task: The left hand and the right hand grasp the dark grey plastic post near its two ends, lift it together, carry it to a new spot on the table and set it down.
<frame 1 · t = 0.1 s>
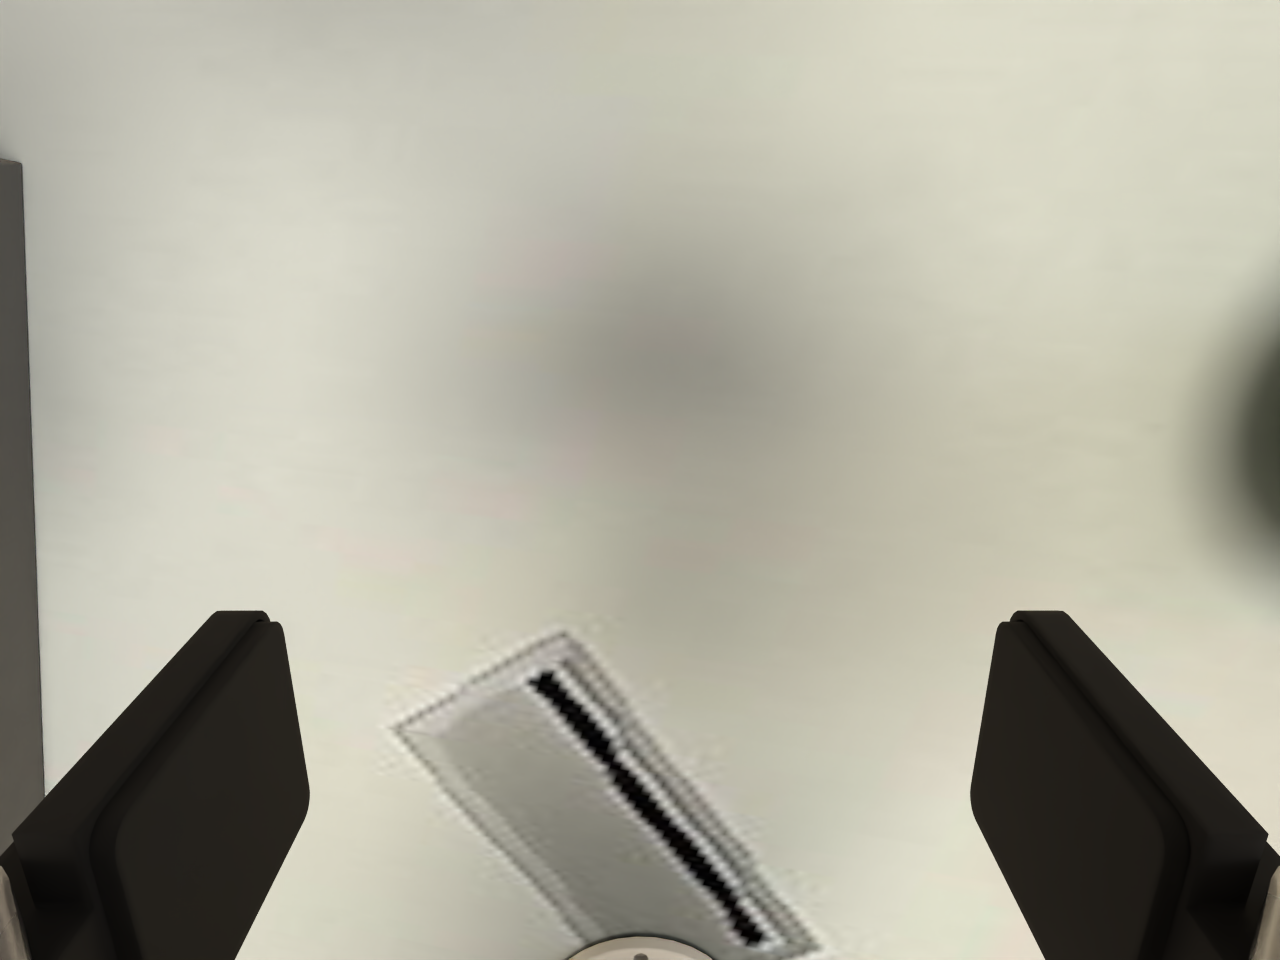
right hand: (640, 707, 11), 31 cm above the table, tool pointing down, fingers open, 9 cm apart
post: (6, 816, 51), on the table
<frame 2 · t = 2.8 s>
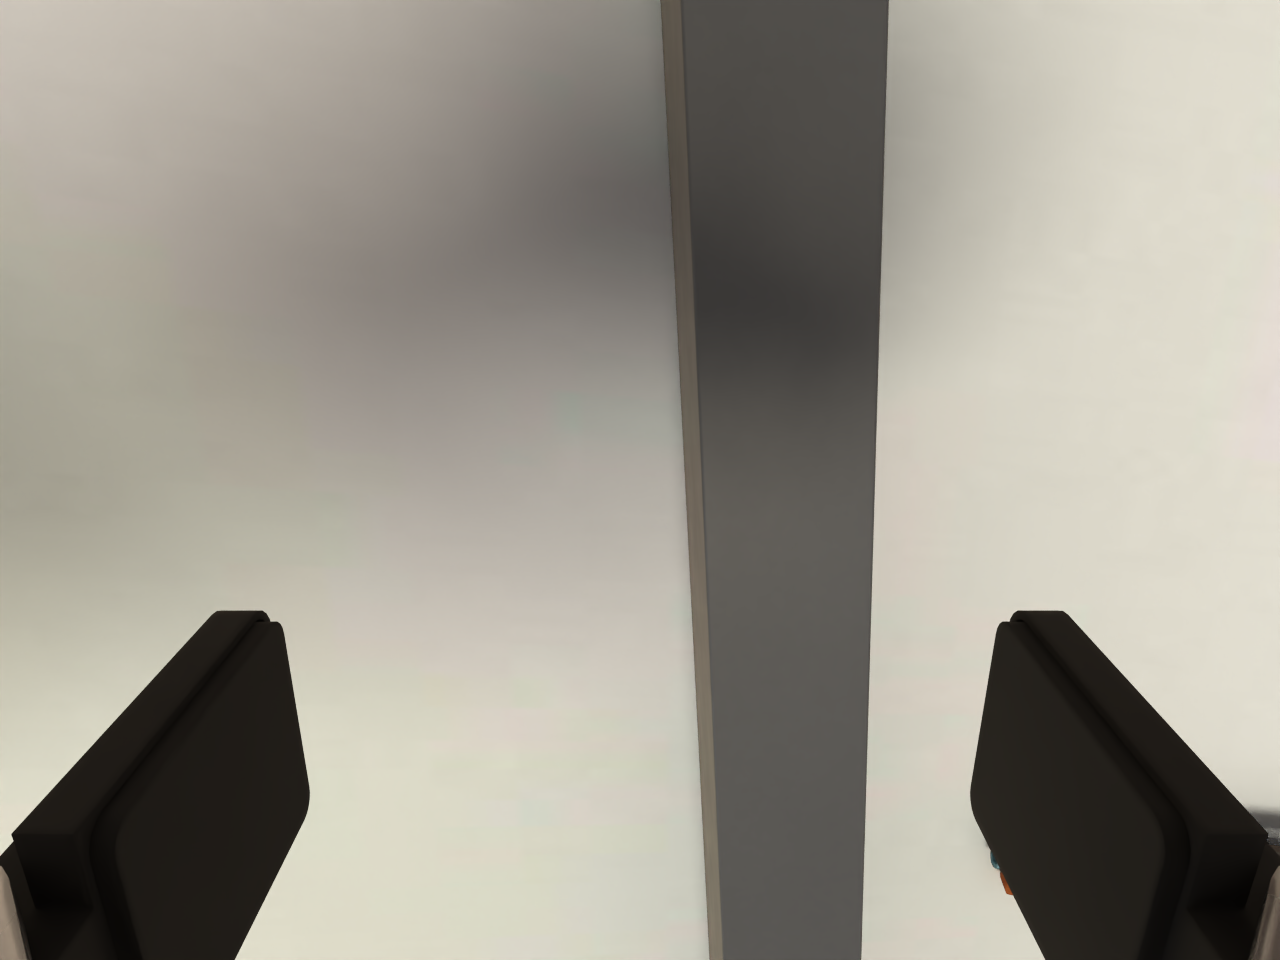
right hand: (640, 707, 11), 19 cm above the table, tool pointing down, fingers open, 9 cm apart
post: (758, 857, 36), on the table
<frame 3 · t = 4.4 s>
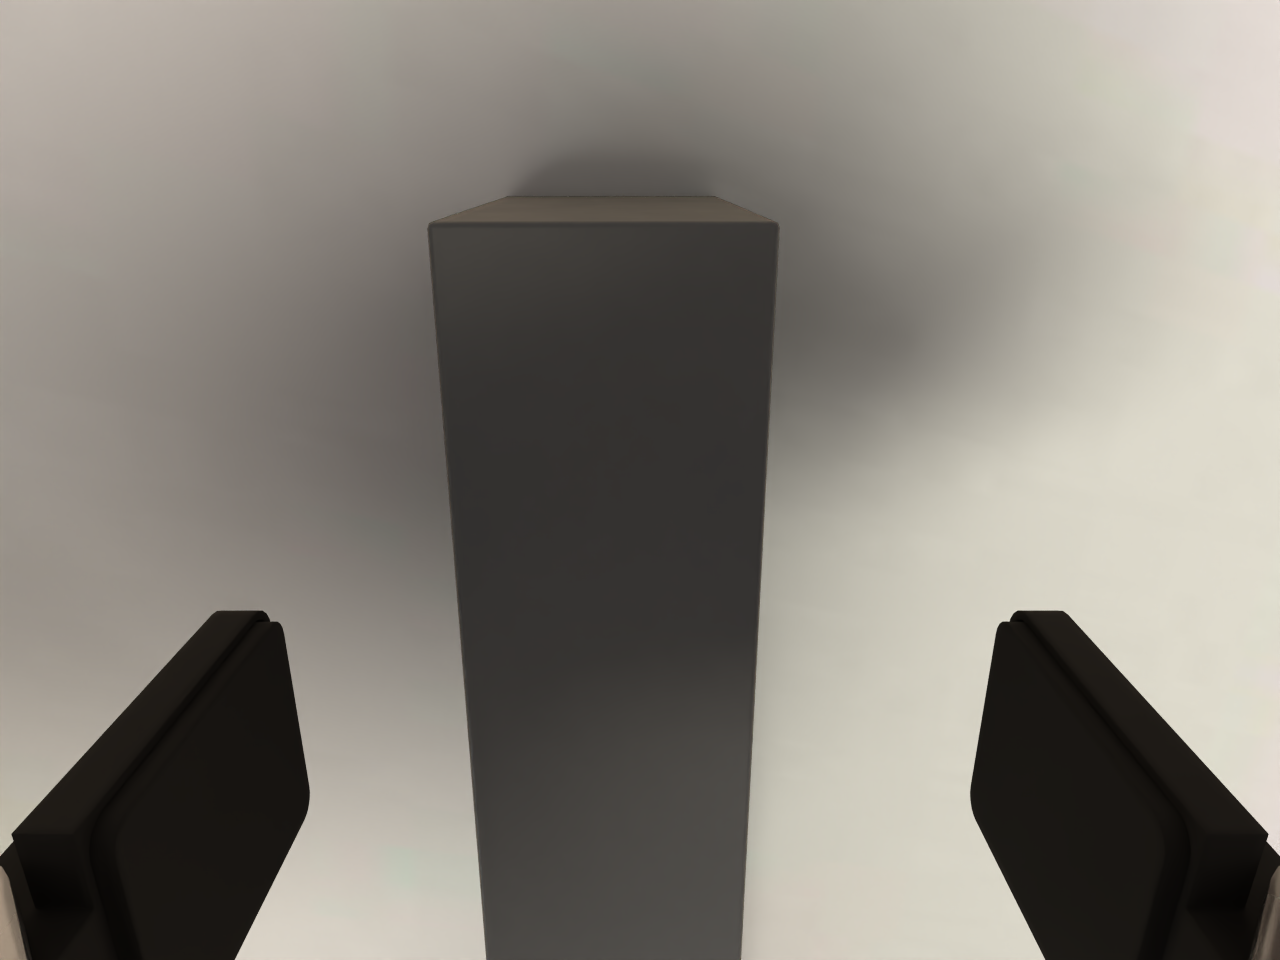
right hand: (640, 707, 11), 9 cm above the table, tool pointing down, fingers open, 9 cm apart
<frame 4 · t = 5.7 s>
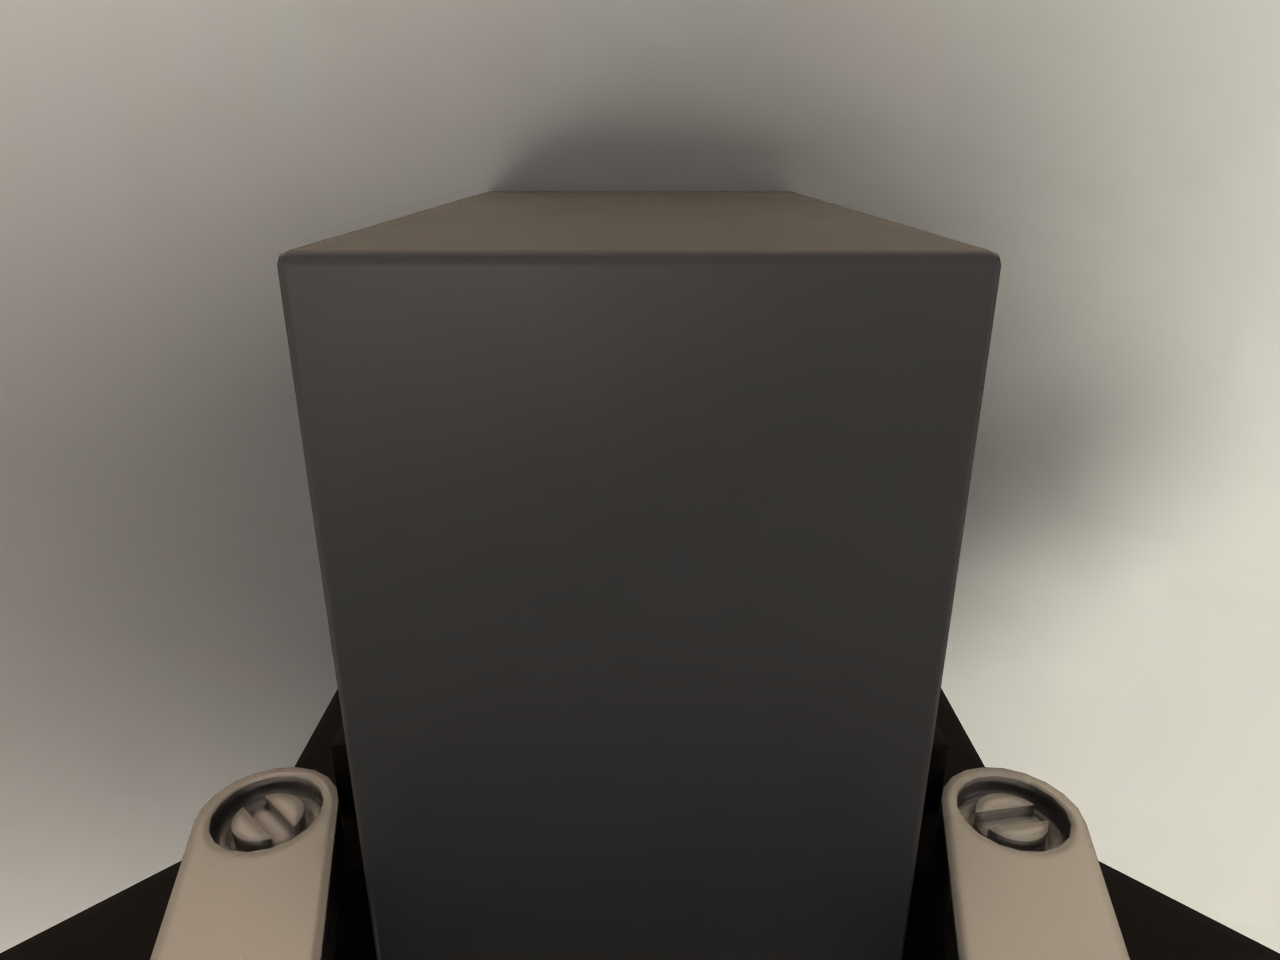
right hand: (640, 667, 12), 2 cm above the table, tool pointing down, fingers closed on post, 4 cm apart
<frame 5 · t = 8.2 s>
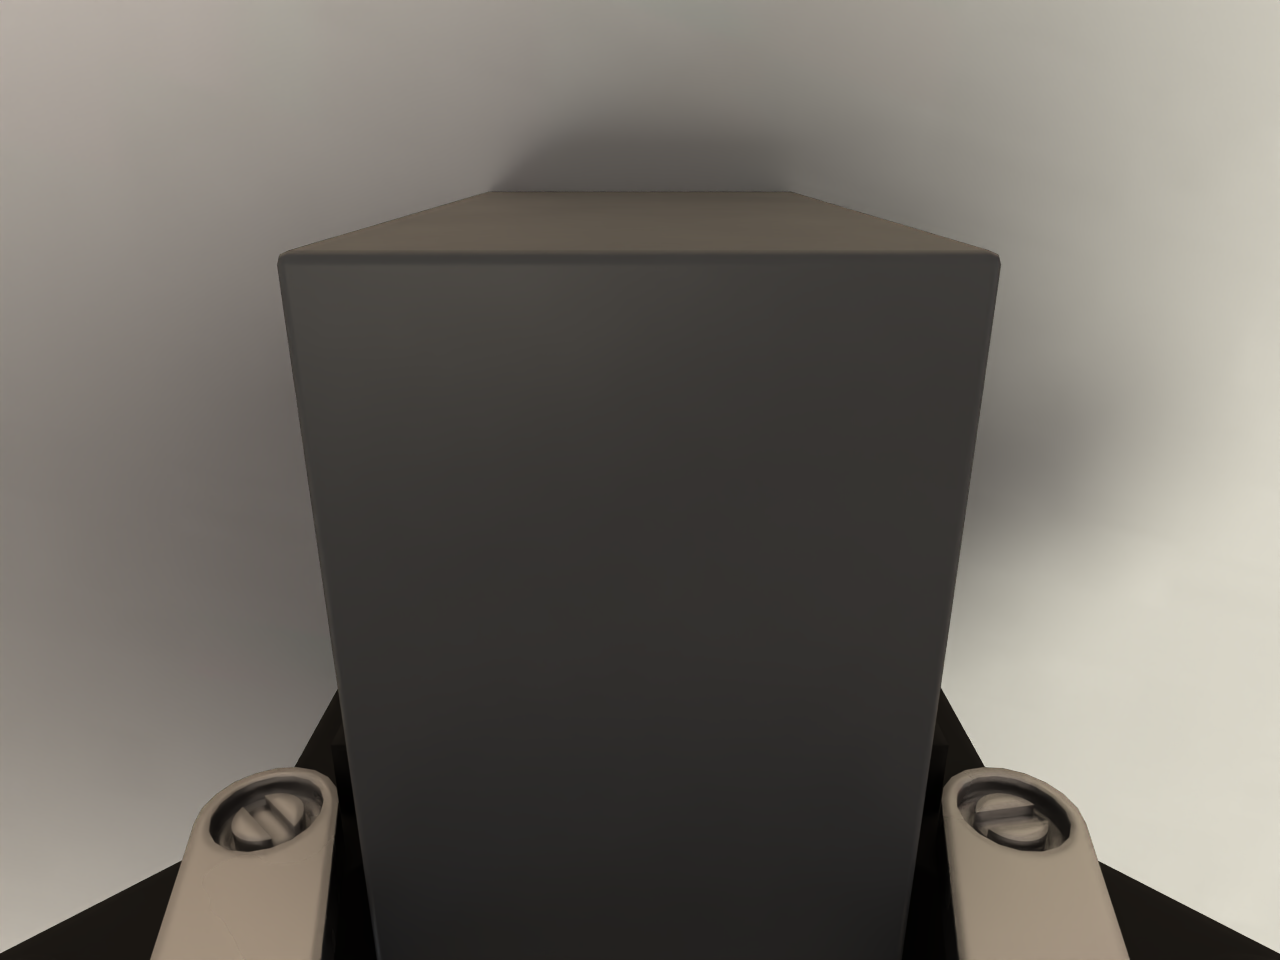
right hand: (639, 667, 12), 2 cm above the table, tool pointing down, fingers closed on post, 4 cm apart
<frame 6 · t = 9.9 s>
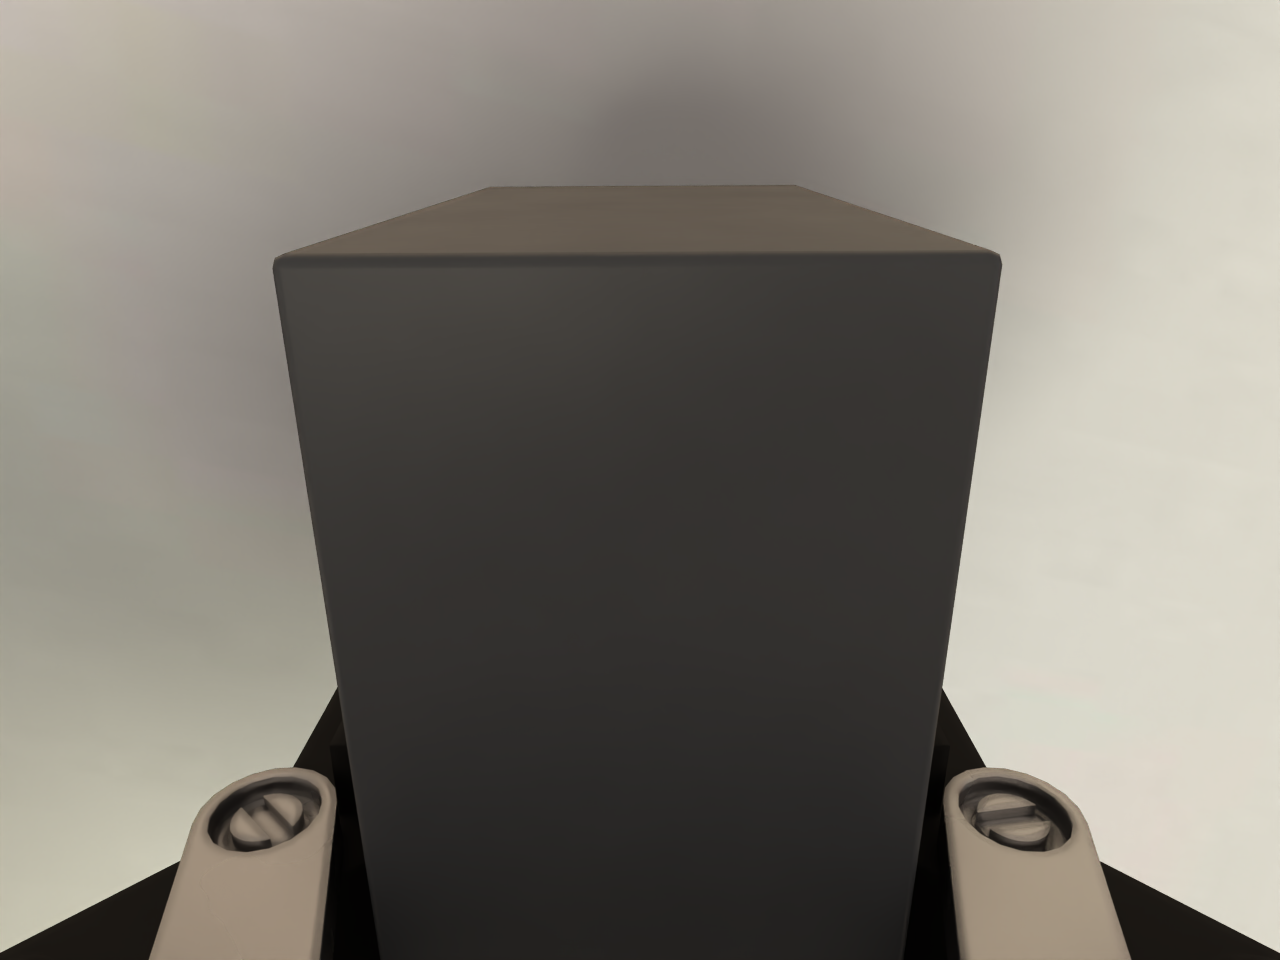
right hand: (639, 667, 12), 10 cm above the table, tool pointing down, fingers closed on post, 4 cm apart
when the left hand's fingers open (3 cm above the table, at t = 11.7 s): post stays where it is, on the table.
when the right hand's fingers open (3 cm above the table, at t = 11.7 s): post stays where it is, on the table.
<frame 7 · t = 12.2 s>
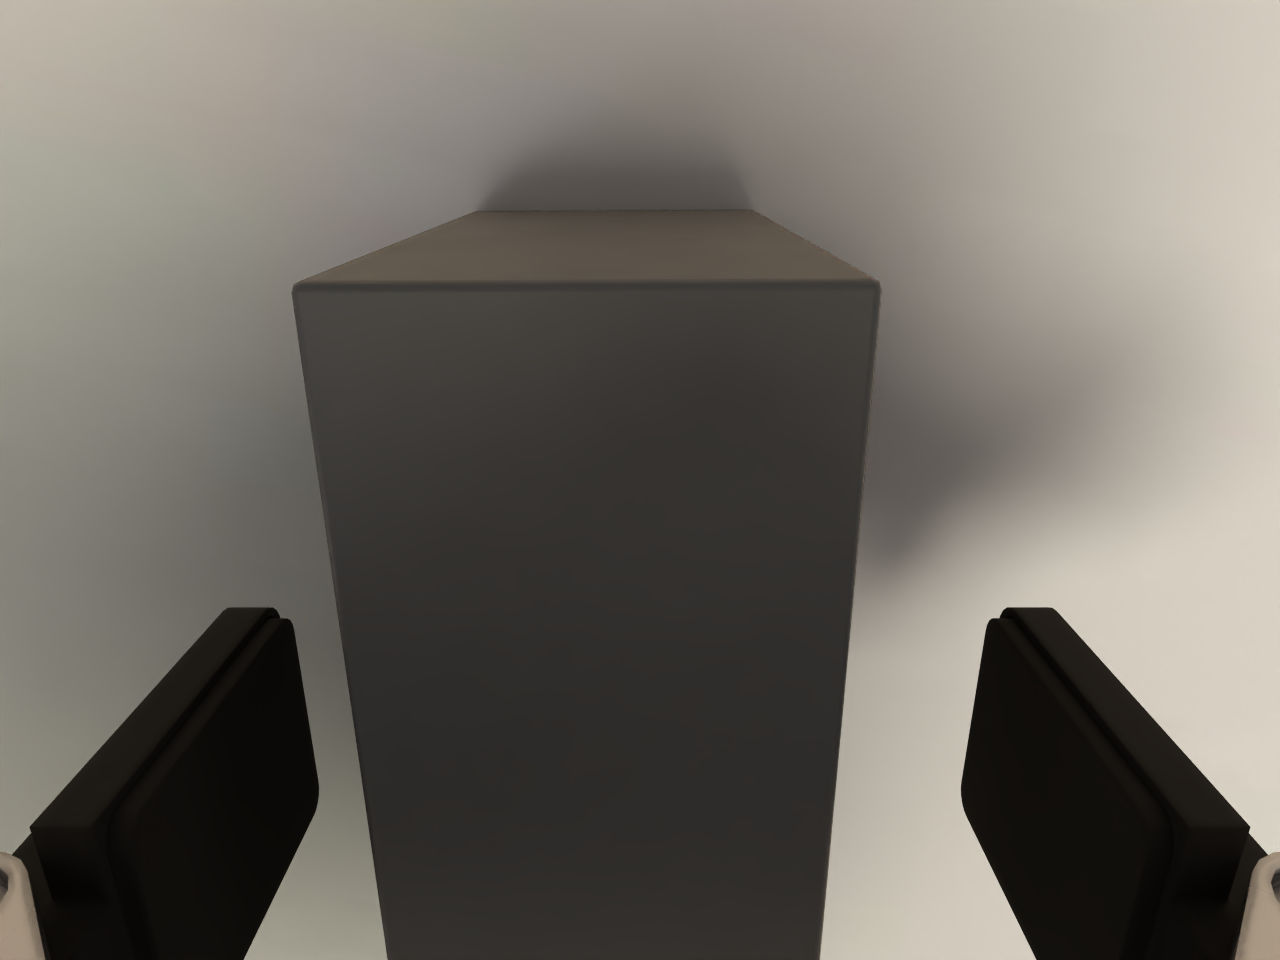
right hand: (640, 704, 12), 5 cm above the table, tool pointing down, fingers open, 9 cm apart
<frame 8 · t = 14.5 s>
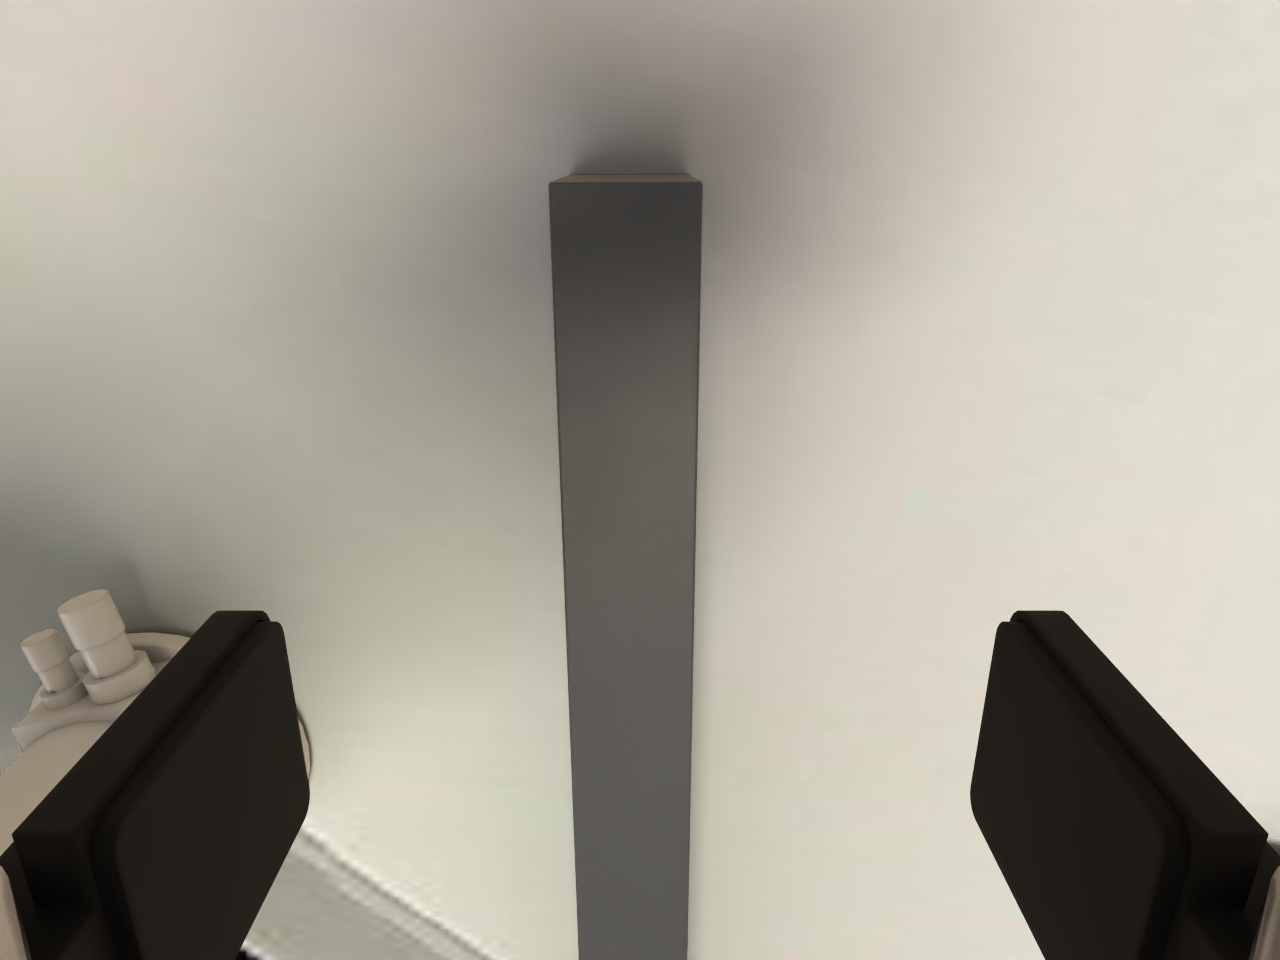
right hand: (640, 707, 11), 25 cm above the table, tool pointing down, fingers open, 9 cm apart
post: (634, 931, 46), on the table
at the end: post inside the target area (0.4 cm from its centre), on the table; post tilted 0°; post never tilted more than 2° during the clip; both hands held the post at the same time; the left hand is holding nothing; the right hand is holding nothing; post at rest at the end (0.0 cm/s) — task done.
